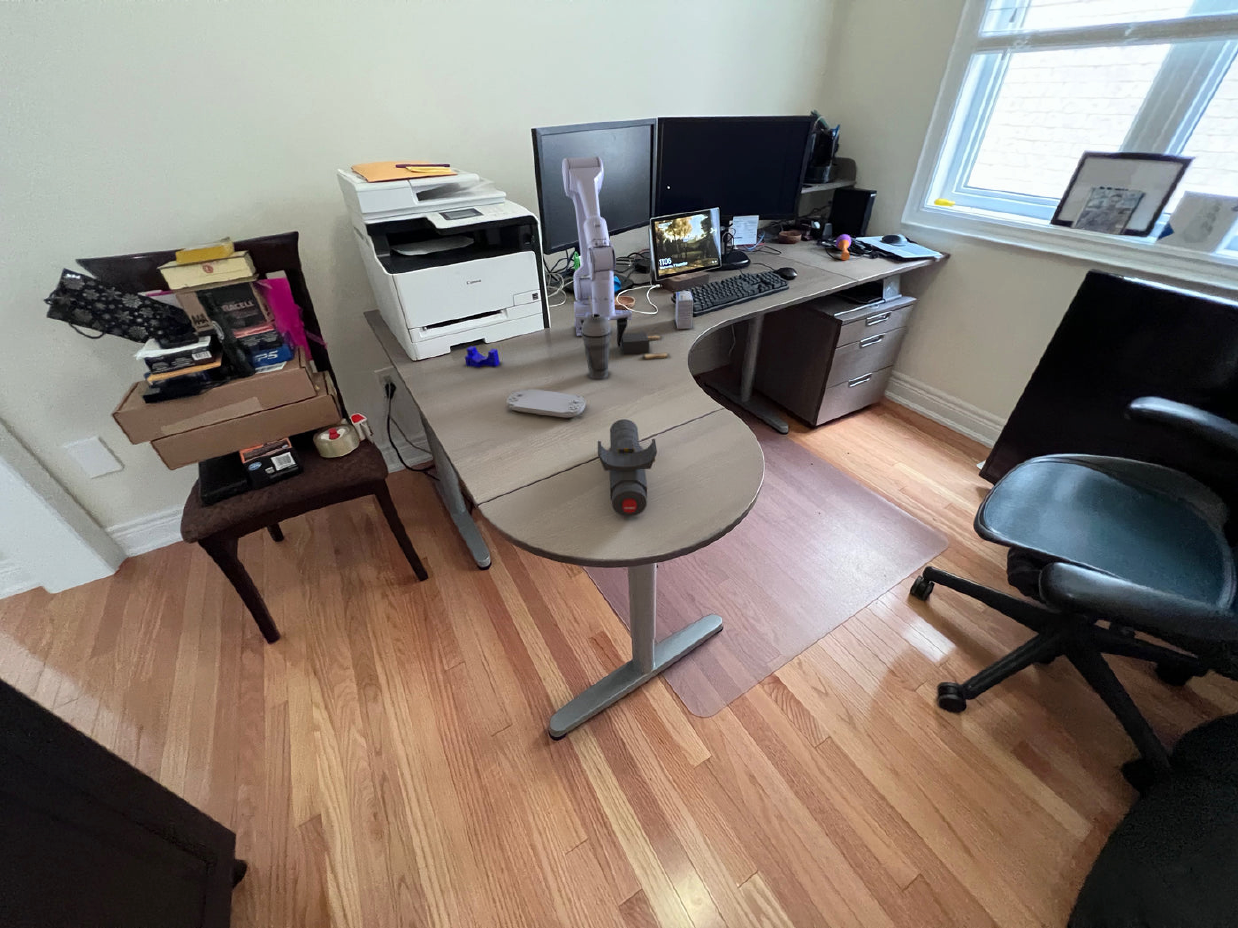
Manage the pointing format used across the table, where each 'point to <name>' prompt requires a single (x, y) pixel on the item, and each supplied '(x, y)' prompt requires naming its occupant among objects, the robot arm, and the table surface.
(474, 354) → the cable holder
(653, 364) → the table surface
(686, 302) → the medicine box
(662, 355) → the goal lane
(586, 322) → the beverage cup
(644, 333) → the black block
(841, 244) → the kendama
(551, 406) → the game console
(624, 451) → the laser sight
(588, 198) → the robot arm
